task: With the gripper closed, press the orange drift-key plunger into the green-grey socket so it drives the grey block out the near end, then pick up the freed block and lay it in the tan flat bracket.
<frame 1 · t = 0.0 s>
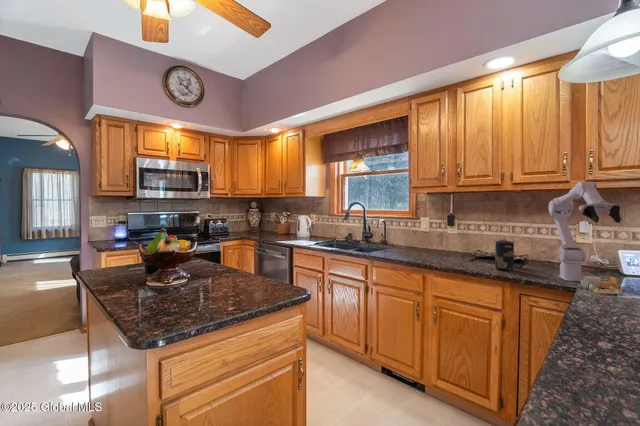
hand: (608, 221, 132), 32 cm above the table, tool tilted 50°, fingers open, 7 cm apart
socket: (589, 287, 146), on the table
tan flat bracket: (604, 292, 138), on the table
canister: (504, 269, 184), on the table
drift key: (607, 282, 144), point 3 cm above the table, slide at 0.0 cm
grey block: (591, 287, 146), on the table
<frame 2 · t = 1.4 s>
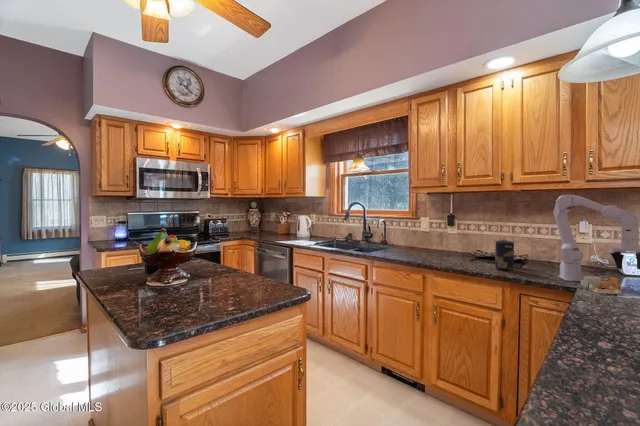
hand: (629, 269, 142), 10 cm above the table, tool pointing down, fingers open, 7 cm apart
nothing on the table moved.
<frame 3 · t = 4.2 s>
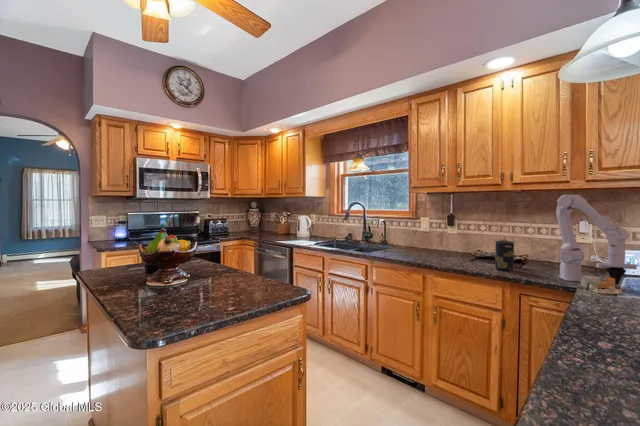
hand: (615, 283, 143), 2 cm above the table, tool pointing down, fingers closed
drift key: (604, 282, 144), point 3 cm above the table, slide at 1.2 cm, touching grey block, gripper
grey block: (589, 287, 146), on the table, touching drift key
everything else where it was.
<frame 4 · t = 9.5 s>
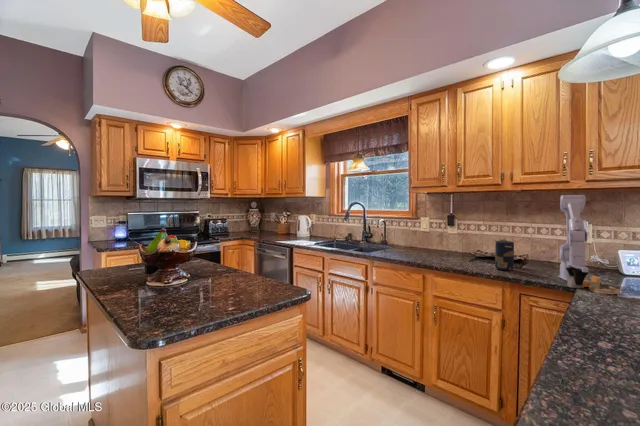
hand: (576, 283, 147), 1 cm above the table, tool pointing down, fingers closed on grey block, 4 cm apart
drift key: (589, 281, 146), point 3 cm above the table, slide at 7.0 cm
grey block: (575, 286, 147), on the table, touching gripper
everything else where it was.
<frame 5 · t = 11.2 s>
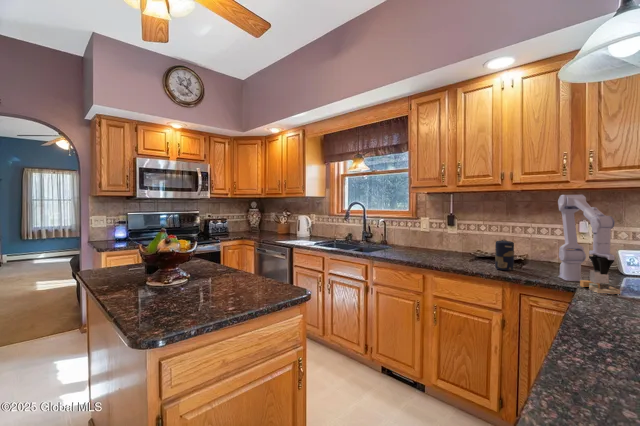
hand: (600, 273, 139), 8 cm above the table, tool pointing down, fingers closed on grey block, 4 cm apart
grey block: (599, 282, 139), point 4 cm above the table, touching gripper
everything else where it was.
when the fingers open (3 cm above the table, at t = 12.7 s): grey block stays where it is, resting on tan flat bracket.
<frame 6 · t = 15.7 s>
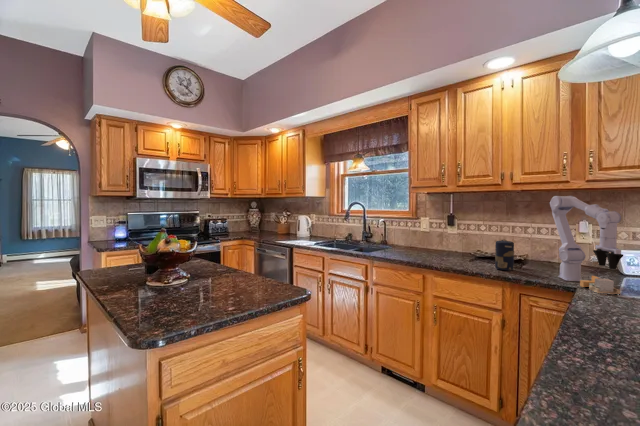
hand: (607, 267, 142), 10 cm above the table, tool pointing down, fingers open, 7 cm apart
grey block: (603, 290, 138), point 1 cm above the table, touching tan flat bracket
everything else where it was.
at the end: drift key slide at 7.0 cm; grey block inside the target area on the tan flat bracket (0.2 cm from its centre), point 0.8 cm above the tan flat bracket's base; the gripper is holding nothing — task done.
